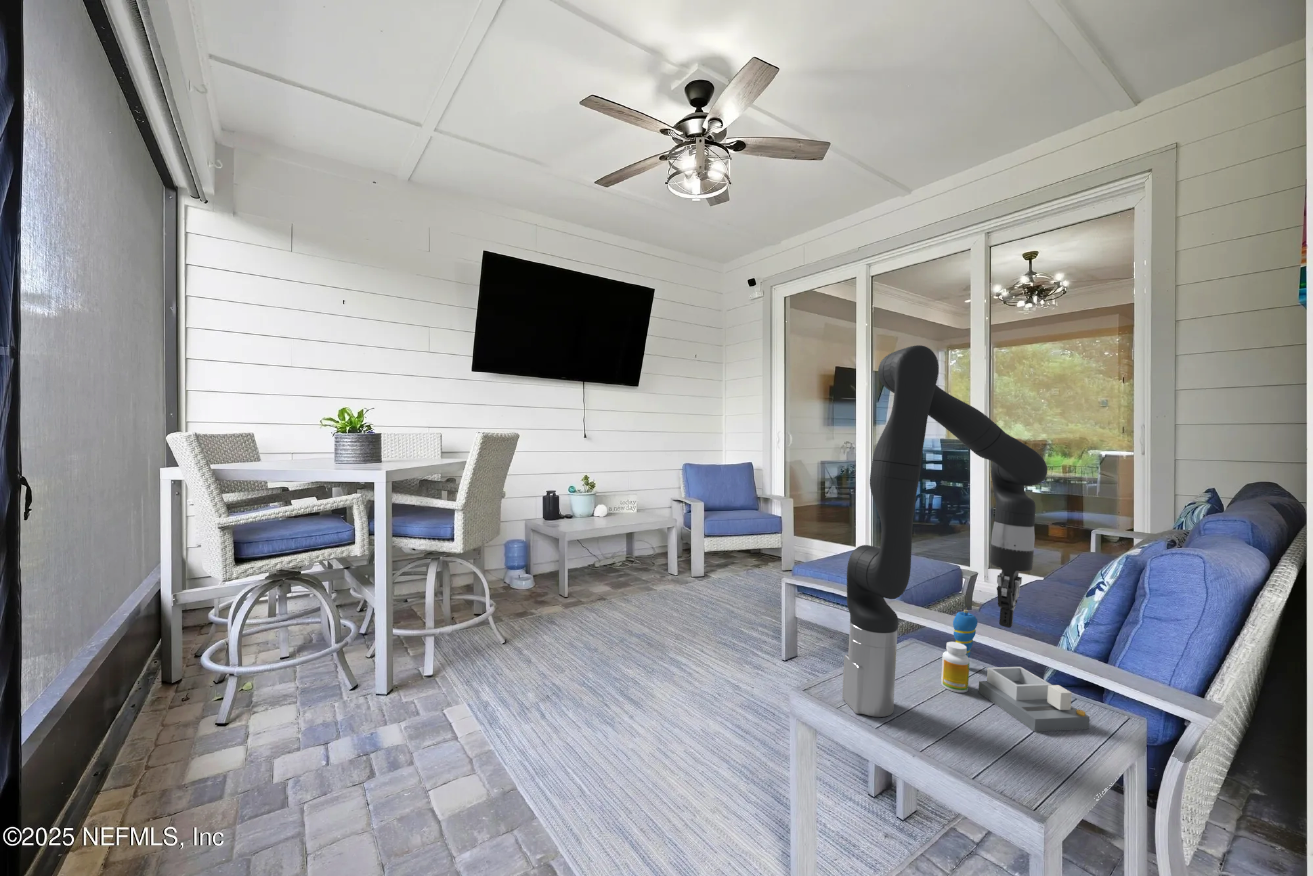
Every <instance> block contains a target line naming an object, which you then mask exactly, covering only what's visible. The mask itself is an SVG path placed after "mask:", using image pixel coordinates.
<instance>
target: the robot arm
mask: <svg viewBox="0 0 1313 876" xmlns="http://www.w3.org/2000/svg"><path fill="white" fill-rule="evenodd" d="M939 368H940V367H939V361H938V358H937V356H936V354H935V352H934V351H933V350H932V349H931V348H929V347H928V346H926V345H921V344H920V345H919V344H918V345H911V346H908V347H904V348H901V349H899V350H896V351H893V352H891V353H889V354H887V355H886V356H884V357H883V359H882V360H881V361H880V363H879V365H878V370H877V373H878V374H877V375H878V379H879V381H880V383H881V384H882V385H883V387H885V388H886V389H887V390H888V391H890V392H891V393H893V400H892V401H893V403H892V409H891V412H890V416H889V418H888V421H887V422H886V425H885V427H884V429H883V431H882V432H881V435H880V437H879V439H878V441H877V443H876V445H875V448H874V450H873V451H874V452H873V455H872V461H871V467H870V474H869V489H870V492H871V495H872V496H871V497H872V499H873V502H874V505H875V507H876V510H877V513H878V516H879V520H880V526H881V537H880V538H881V539H880V547H876V546H873V545H868V544H863V545H859V546H857V547H855V549H854V550H853V551H852V552H851V554H850V556H849V559H848V561H847V567H846V604H847V610H848V612H849V635H848V652H847V653H848V654H845V655H844V657H843V674H842V675H843V677H842V691H841V693H842V694H841V695H842V696H841V698H842V700H843V701H844V702H845V704H847V706H848V707H850V708H851V710H852V712H854V713H855V714H859V715H860V714H862V715H865V716H868V717H873V718H874V717H876V718H881V717H883V718H885V717H888V716H891V715H892V714H893V712H894V706H895V705H894V704H895V687H896V686H895V685H896V664H897V663H896V662H897V650H898V649H897V647H898V646H897V644H898V631H899V630H898V629H899V628H898V627H899V617H898V614H897V613H896V611H895V610H894V609H892V607H891V606H890V605H889V604H888V603H887V601H886V600H885V599H888V600H896V599H898V598H900V597H901V596H902V595H903V594H904V592H905V591H906V589H907V587H908V584H909V581H910V577H911V567H912V546H913V543H912V541H913V528H914V527H913V526H914V517H915V516H914V514H915V507H916V500H917V493H918V487H919V483H920V482H919V481H920V475H921V467H922V459H923V450H924V444H925V440H926V439H925V438H926V433H927V426H928V425H927V423H928V417H930V418H932V419H933V420H934V421H935V422H937V424H939V425H941V426H942V427H943V428H944V429H946V430H947V431H948V432H949V433H951V434H952V435H953V436H954V437H955V438H957V440H959V441H960V442H961V443H962V444H963V445H965V446H966V447H967V449H969V450H970V451H971V452H973V453H974V454H975V455H976V456H979V457H980V458H982V459H985V460H988V461H990V462H992V463H991V468H990V475H991V476H990V478H991V483H992V489H993V493H994V494H993V495H994V497H995V509H994V522H993V527H992V530H991V531H992V532H991V541H990V542H991V544H990V552H989V553H990V554H989V563H990V564H991V565H992V566H994V567H996V568H1000V569H1001V572H999V574H998V575H997V577H996V583H997V587H996V594H997V595H996V596H997V606H998V607H999V608H1000V609H999V611H1000V612H999V619H998V620H999V622H998V623H999V626H1001V627H1005V628H1008V629H1009V628H1010V629H1011V628H1012V627H1013V624H1014V623H1013V622H1014V610H1015V608H1016V607H1017V604H1018V598H1019V596H1020V587H1021V585H1022V581H1023V578H1022V576H1020V575H1019V574H1020V573H1019V572H1030V571H1032V569H1033V566H1034V565H1033V564H1034V563H1033V562H1034V551H1035V539H1036V535H1035V523H1036V521H1035V520H1036V503H1035V501H1034V499H1032V498H1031V497H1029V496H1028V495H1026V491H1025V486H1026V487H1027V486H1029V487H1030V486H1032V487H1033V486H1035V485H1038V484H1040V483H1042V482H1043V481H1044V480H1045V479H1046V477H1047V475H1048V465H1047V462H1046V461H1045V459H1044V458H1043V456H1042V455H1041V454H1039V452H1038V451H1036V450H1034V449H1033V448H1031V447H1030V446H1029V445H1027V444H1025V443H1023V442H1022V441H1020V440H1019V439H1018V438H1015V437H1014V436H1011V435H1009V434H1007V432H1005V431H1004V430H1003V429H1002V428H1001V427H1000V426H999V425H997V423H995V422H994V421H993V420H992V419H991V418H990V417H989V416H988V415H986V414H984V412H982V411H980V410H979V409H978V408H976V407H974V406H972V405H970V404H968V403H967V402H964V401H962V400H961V399H959V398H957V397H955V396H953V395H951V394H950V393H948V392H947V391H945V390H943V389H942V388H940V387H939V386H938V385H937V382H938V378H939V373H940V372H939V371H940V369H939Z"/></svg>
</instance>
